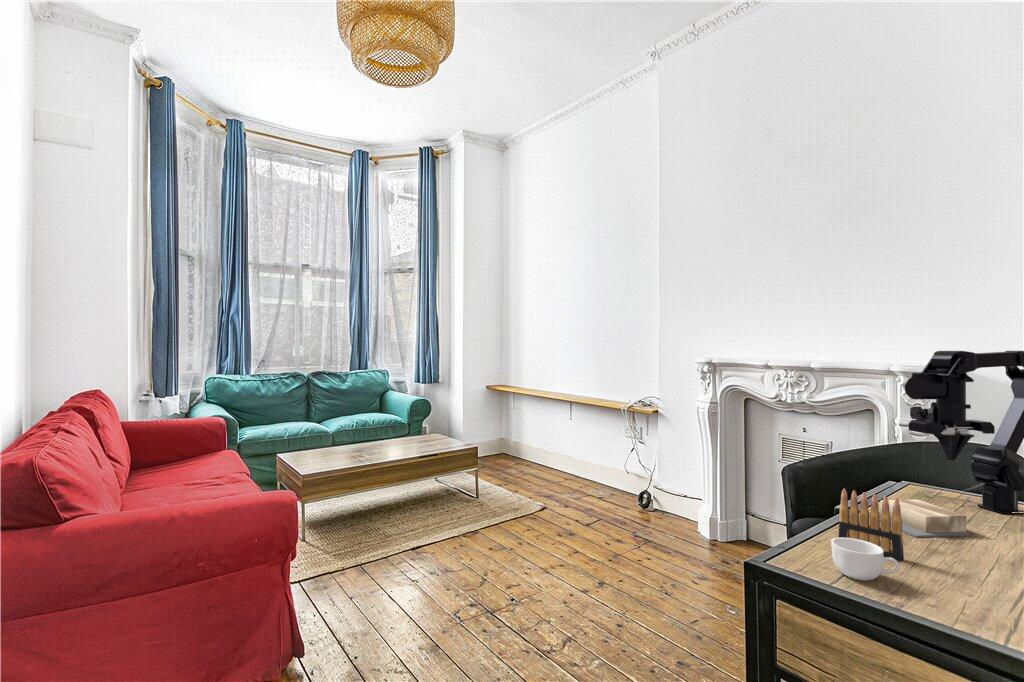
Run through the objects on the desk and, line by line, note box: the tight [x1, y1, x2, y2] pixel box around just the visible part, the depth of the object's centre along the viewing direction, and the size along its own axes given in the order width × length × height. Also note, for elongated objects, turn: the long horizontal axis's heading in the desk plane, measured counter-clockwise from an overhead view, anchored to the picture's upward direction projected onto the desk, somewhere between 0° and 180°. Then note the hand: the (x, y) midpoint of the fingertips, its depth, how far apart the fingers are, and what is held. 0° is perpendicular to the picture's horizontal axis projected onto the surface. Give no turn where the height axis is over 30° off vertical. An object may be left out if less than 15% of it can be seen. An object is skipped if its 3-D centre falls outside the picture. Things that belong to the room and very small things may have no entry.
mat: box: [869, 511, 971, 538], centre depth 116 cm, size 13×15×1 cm
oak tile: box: [879, 499, 967, 533], centre depth 116 cm, size 4×12×10 cm
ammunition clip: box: [837, 488, 905, 563], centre depth 100 cm, size 11×2×12 cm, turn 43°
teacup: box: [830, 537, 900, 582], centre depth 89 cm, size 10×8×5 cm
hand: (950, 460), depth 126 cm, fingers closed
